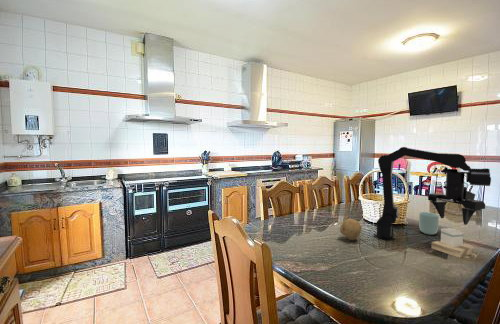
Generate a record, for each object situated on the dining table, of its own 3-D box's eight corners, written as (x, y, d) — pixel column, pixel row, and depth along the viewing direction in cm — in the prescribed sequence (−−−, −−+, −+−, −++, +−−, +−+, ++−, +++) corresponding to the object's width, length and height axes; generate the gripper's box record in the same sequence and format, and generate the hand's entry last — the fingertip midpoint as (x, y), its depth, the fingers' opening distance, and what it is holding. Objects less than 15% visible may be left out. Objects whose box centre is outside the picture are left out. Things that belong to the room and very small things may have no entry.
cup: (441, 236, 117) (442, 216, 116) (423, 235, 118) (424, 215, 118) (432, 231, 125) (433, 212, 124) (415, 230, 126) (416, 211, 126)
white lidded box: (452, 247, 98) (453, 232, 98) (440, 242, 103) (441, 228, 103) (462, 246, 99) (463, 232, 99) (450, 241, 104) (450, 228, 104)
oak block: (459, 258, 94) (459, 251, 94) (431, 249, 103) (431, 242, 103) (473, 254, 98) (473, 247, 98) (444, 245, 107) (445, 238, 107)
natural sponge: (339, 241, 110) (340, 220, 110) (340, 235, 118) (340, 215, 118) (361, 244, 107) (361, 222, 106) (360, 237, 115) (360, 217, 115)
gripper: (497, 186, 92) (495, 226, 93) (447, 180, 110) (446, 214, 111) (474, 187, 90) (473, 228, 90) (427, 181, 108) (426, 215, 109)
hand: (453, 221), depth 100 cm, fingers open, 9 cm apart
